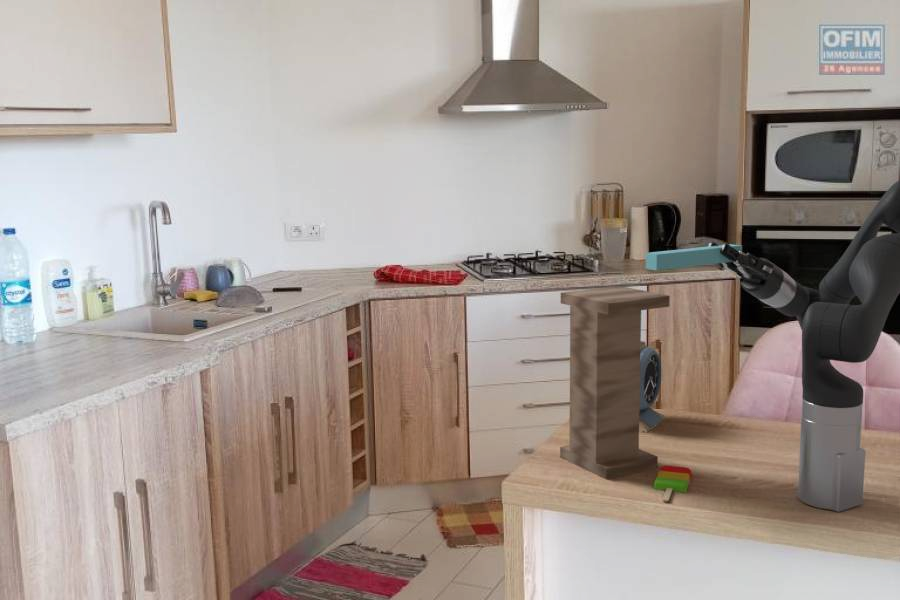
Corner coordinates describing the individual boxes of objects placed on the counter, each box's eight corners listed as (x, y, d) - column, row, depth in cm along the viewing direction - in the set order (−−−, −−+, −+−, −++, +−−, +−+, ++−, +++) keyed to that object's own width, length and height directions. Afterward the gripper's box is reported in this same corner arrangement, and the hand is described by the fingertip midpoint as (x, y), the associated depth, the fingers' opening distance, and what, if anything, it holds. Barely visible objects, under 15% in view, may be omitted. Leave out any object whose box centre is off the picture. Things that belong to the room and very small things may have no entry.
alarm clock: (645, 434, 192) (646, 350, 189) (600, 427, 197) (601, 345, 194) (667, 416, 204) (669, 337, 201) (625, 410, 209) (626, 333, 206)
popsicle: (692, 476, 169) (692, 467, 169) (681, 507, 155) (682, 497, 155) (661, 473, 171) (661, 463, 171) (648, 503, 157) (648, 493, 157)
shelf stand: (665, 464, 174) (669, 295, 169) (606, 479, 167) (608, 303, 162) (617, 444, 186) (619, 285, 181) (560, 456, 179) (560, 292, 174)
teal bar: (741, 260, 184) (742, 245, 184) (656, 270, 174) (656, 254, 173) (730, 259, 187) (730, 244, 186) (645, 268, 176) (645, 252, 176)
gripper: (749, 263, 197) (697, 227, 189) (803, 270, 185) (751, 232, 177) (735, 295, 197) (683, 260, 188) (789, 304, 184) (735, 268, 176)
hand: (716, 247), depth 182 cm, fingers closed on teal bar, 3 cm apart
